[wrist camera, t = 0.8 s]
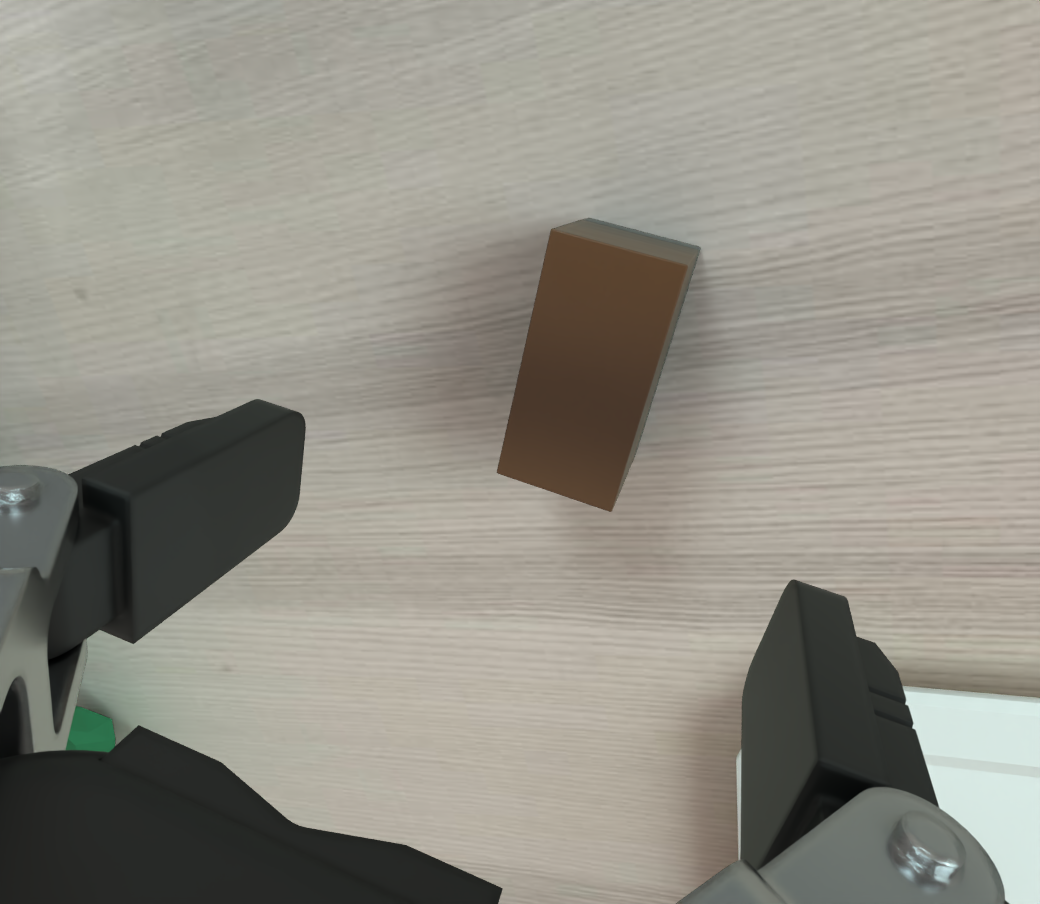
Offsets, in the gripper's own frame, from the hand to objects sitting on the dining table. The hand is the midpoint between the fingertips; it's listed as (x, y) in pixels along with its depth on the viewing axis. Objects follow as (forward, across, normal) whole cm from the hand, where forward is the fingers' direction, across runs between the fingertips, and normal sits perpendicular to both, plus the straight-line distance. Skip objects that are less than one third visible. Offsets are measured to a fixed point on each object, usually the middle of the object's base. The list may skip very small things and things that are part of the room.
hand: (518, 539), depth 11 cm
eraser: (+16, +1, +1) cm, 16 cm away
